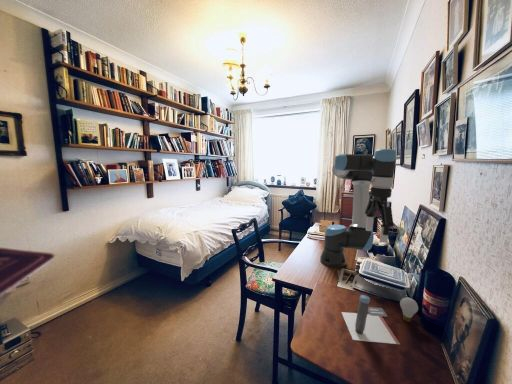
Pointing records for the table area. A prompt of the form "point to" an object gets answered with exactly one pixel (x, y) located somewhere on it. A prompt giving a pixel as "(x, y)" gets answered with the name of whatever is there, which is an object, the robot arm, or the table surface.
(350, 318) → the notepad
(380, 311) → the word card
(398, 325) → the table surface
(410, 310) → the light bulb
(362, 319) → the marker
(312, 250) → the table surface
